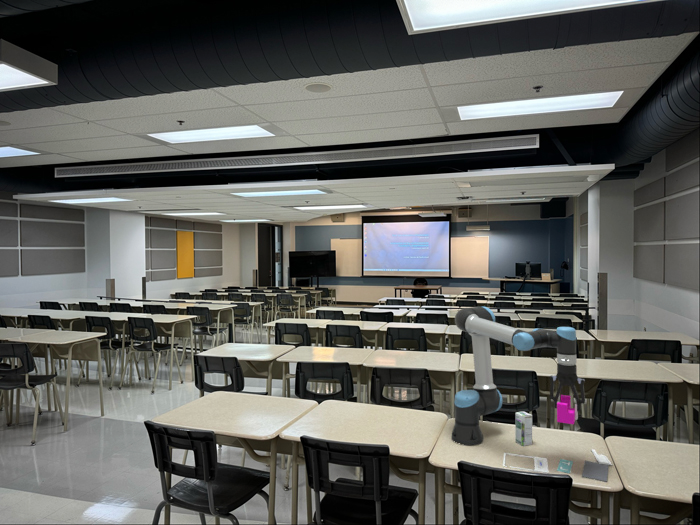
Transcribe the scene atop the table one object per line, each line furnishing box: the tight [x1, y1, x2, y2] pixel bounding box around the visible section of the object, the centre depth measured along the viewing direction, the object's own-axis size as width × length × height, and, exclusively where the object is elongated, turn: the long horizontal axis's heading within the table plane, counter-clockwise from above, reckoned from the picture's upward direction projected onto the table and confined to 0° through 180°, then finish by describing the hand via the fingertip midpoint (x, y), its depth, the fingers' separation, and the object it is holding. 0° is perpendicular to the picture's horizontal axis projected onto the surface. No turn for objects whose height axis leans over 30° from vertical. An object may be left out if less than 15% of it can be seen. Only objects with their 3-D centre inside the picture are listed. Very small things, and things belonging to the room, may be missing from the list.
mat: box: [581, 460, 610, 483], centre depth 193 cm, size 9×17×1 cm, turn 149°
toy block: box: [556, 394, 576, 425], centre depth 198 cm, size 15×6×8 cm, turn 149°
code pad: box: [556, 458, 574, 474], centre depth 198 cm, size 5×13×1 cm, turn 149°
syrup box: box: [514, 411, 533, 447], centre depth 223 cm, size 6×6×14 cm
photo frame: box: [502, 452, 549, 474], centre depth 202 cm, size 15×1×18 cm
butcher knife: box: [590, 448, 613, 466], centre depth 206 cm, size 5×15×1 cm, turn 164°
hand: (567, 417), depth 198 cm, fingers closed on toy block, 6 cm apart
